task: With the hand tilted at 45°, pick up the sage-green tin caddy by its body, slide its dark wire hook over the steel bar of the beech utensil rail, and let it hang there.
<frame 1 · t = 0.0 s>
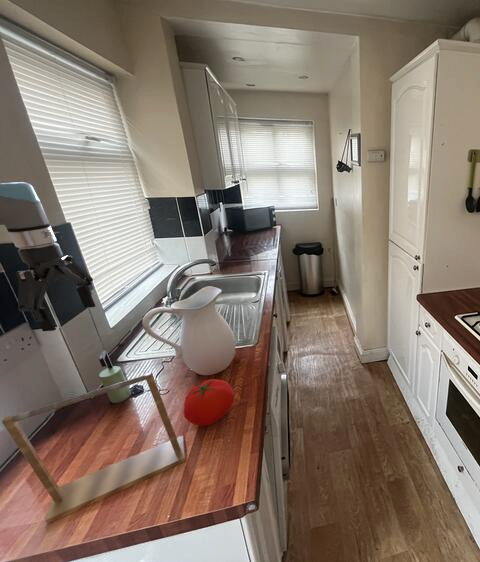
hand: (71, 317, 87), 28 cm above the worktop, tool pointing down, fingers open, 13 cm apart
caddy: (121, 397, 97), on the worktop
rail: (124, 475, 72), on the worktop
pitcher: (204, 370, 108), on the worktop
tomato: (213, 416, 88), on the worktop
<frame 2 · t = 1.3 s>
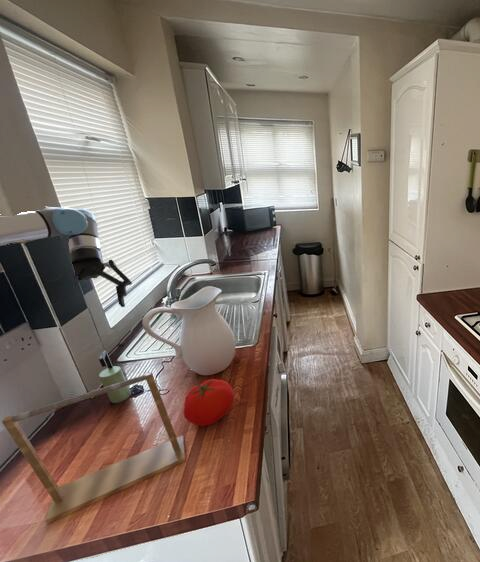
hand: (94, 311, 94), 26 cm above the worktop, tool tilted 45°, fingers open, 13 cm apart
nothing on the worktop moved.
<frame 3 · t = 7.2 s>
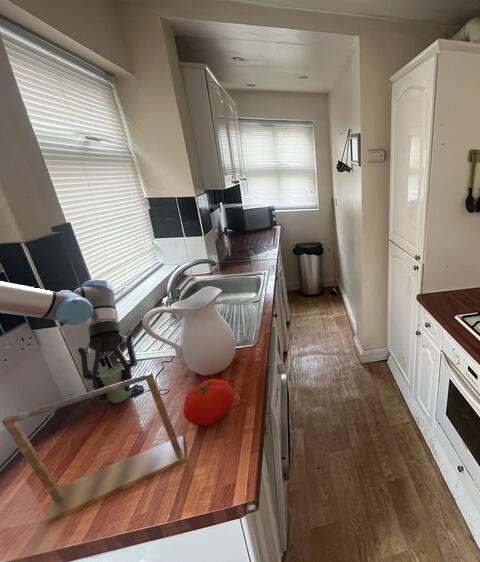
hand: (115, 394, 92), 4 cm above the worktop, tool tilted 45°, fingers closed on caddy, 5 cm apart
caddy: (121, 397, 97), on the worktop, touching gripper
everything else where it was.
when the fingers open (13 cm above the worktop, at t = 16.7 s): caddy stays where it is, resting on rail.
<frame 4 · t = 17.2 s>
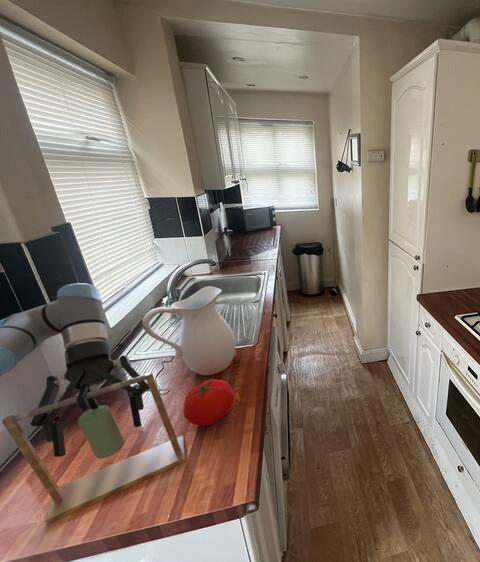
hand: (101, 440, 65), 14 cm above the worktop, tool tilted 45°, fingers open, 12 cm apart
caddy: (110, 448, 69), point 9 cm above the worktop, touching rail
everything else where it was.
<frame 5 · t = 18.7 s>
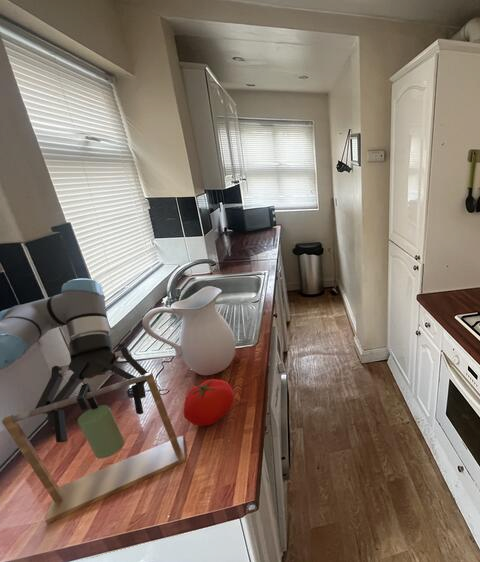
hand: (102, 426, 68), 14 cm above the worktop, tool tilted 45°, fingers open, 13 cm apart
nothing on the worktop moved.
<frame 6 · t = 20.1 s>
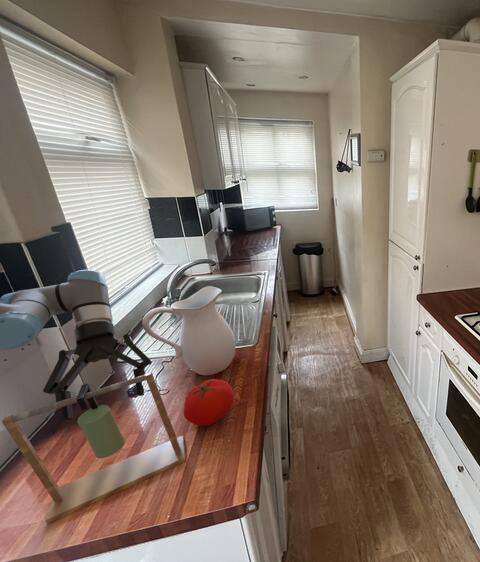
hand: (106, 406, 73), 14 cm above the worktop, tool tilted 45°, fingers open, 13 cm apart
nothing on the worktop moved.
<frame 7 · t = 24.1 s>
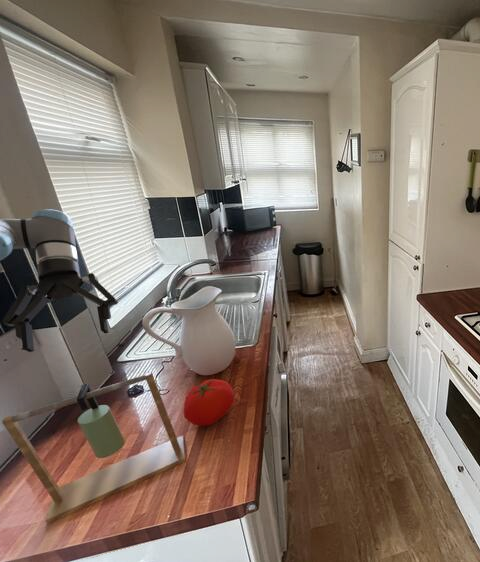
hand: (68, 340, 73), 30 cm above the worktop, tool tilted 45°, fingers open, 13 cm apart
nothing on the worktop moved.
at the end: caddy inside the target area on the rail (0.0 cm from its centre), point 9.2 cm above the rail's base; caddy touching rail; the gripper is holding nothing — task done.
